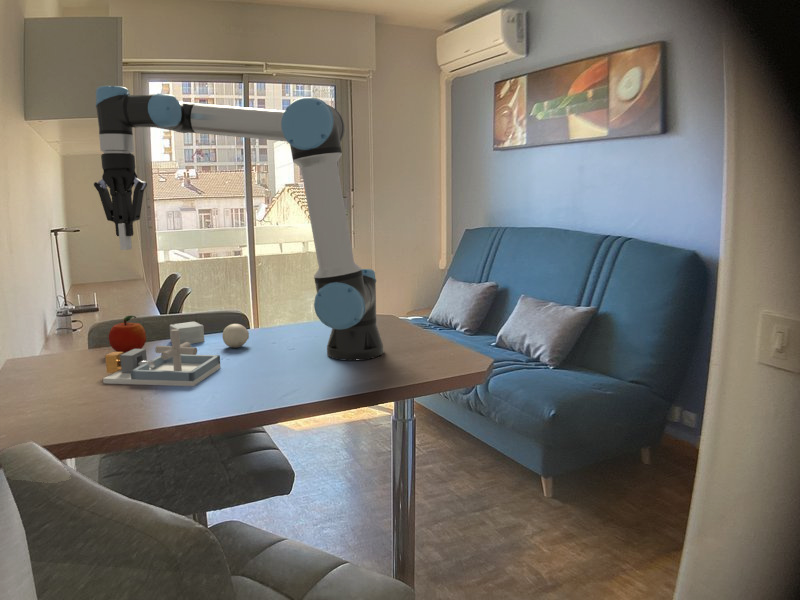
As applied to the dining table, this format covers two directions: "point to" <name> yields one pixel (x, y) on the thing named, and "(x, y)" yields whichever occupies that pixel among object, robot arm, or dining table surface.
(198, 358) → the dock
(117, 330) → the fruit
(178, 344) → the pipe connector
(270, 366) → the dining table surface
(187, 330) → the small box
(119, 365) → the lock pin
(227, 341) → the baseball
